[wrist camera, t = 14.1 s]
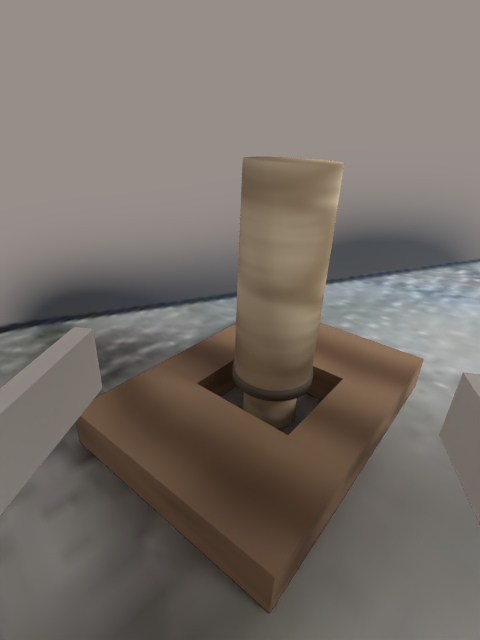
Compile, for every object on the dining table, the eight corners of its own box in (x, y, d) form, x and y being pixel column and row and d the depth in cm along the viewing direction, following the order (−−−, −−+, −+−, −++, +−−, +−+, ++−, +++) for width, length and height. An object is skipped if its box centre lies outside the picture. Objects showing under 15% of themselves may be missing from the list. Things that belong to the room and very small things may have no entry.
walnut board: (268, 327, 37) (270, 304, 35) (415, 386, 29) (423, 359, 28) (79, 441, 22) (73, 409, 21) (269, 613, 15) (274, 577, 14)
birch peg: (260, 379, 29) (278, 155, 22) (319, 408, 26) (363, 163, 19) (215, 413, 25) (219, 157, 18) (279, 451, 22) (313, 166, 15)
